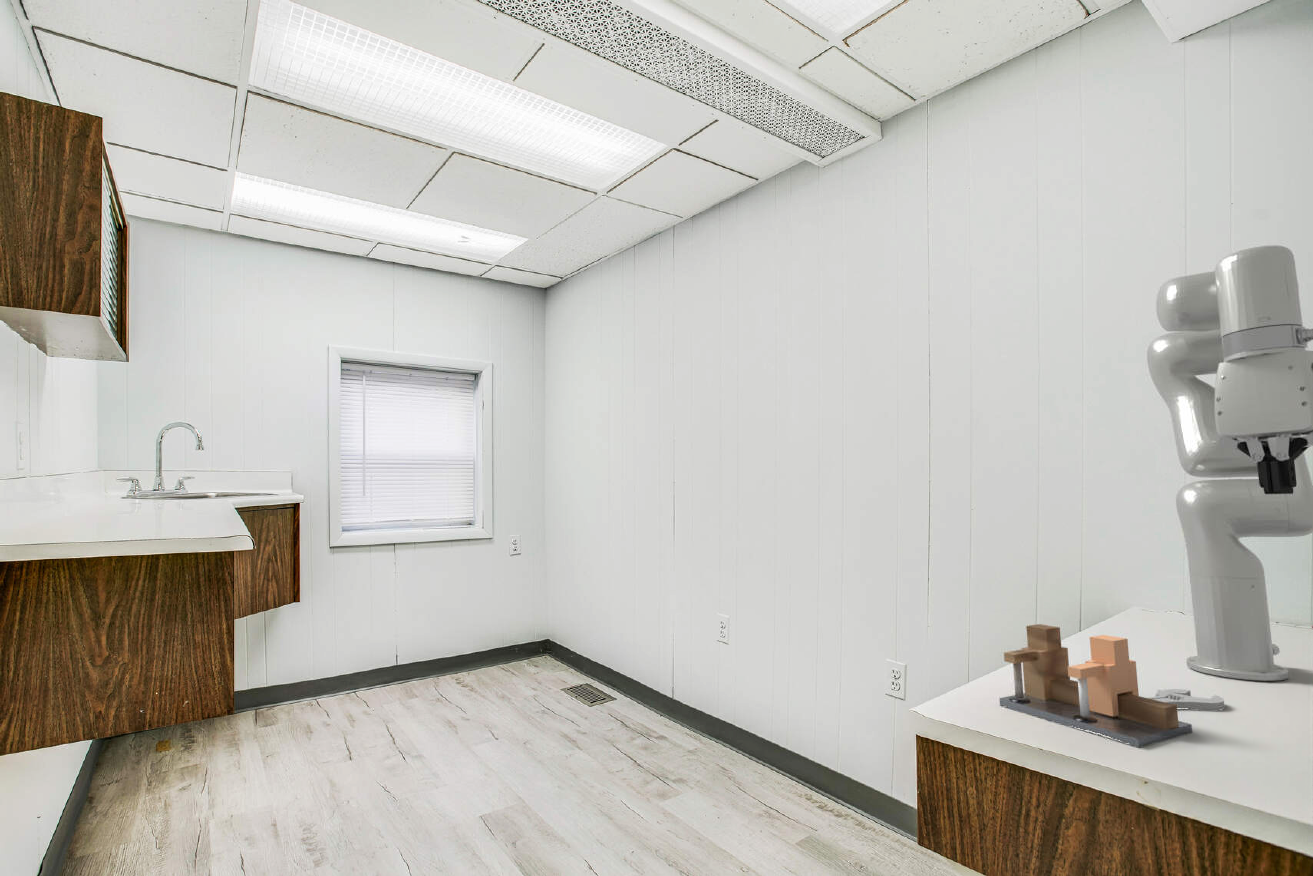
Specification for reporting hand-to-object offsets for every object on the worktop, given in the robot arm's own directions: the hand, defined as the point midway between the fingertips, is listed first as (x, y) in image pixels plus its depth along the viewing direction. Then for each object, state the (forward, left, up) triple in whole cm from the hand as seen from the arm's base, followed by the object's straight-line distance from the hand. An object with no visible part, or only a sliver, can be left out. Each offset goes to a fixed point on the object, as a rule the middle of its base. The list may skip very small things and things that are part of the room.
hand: (1278, 493), depth 80 cm
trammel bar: (+14, -17, -28) cm, 36 cm away
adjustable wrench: (+4, -16, -30) cm, 34 cm away
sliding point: (+14, -14, -28) cm, 34 cm away
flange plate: (+14, -16, -29) cm, 36 cm away
